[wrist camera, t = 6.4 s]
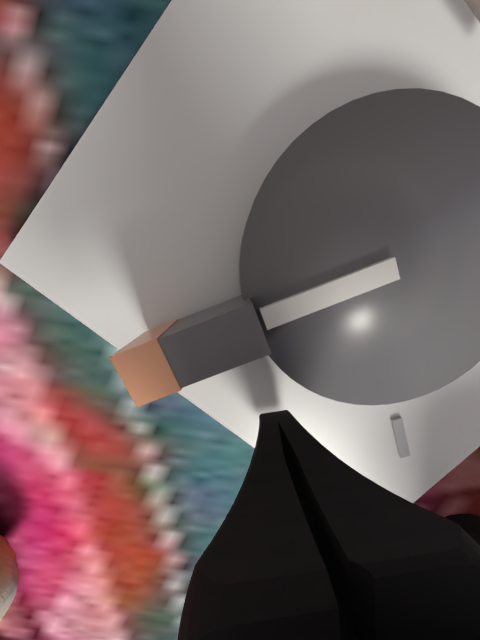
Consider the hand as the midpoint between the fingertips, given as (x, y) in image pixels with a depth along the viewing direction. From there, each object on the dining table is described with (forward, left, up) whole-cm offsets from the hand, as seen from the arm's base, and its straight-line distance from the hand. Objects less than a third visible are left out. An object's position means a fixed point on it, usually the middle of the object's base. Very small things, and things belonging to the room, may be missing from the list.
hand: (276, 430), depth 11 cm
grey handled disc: (-6, -3, -1) cm, 7 cm away
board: (-8, -2, -2) cm, 9 cm away
